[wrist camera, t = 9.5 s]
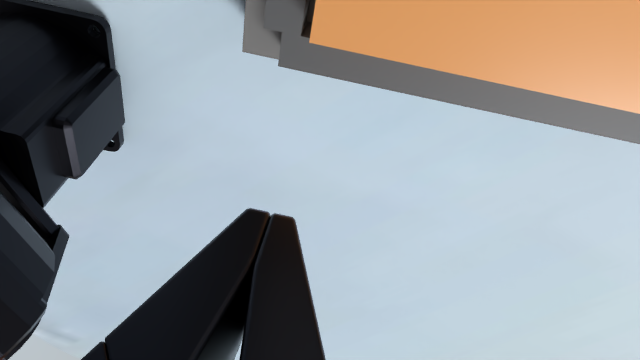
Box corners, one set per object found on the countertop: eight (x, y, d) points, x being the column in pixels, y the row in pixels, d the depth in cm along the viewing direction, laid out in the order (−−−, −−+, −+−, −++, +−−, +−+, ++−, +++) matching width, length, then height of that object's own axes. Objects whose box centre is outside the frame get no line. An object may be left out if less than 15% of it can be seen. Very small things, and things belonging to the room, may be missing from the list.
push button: (318, 16, 16) (309, 42, 15) (341, -125, 14) (332, -111, 12) (652, 88, 16) (677, 122, 15) (739, -40, 14) (780, -15, 12)
